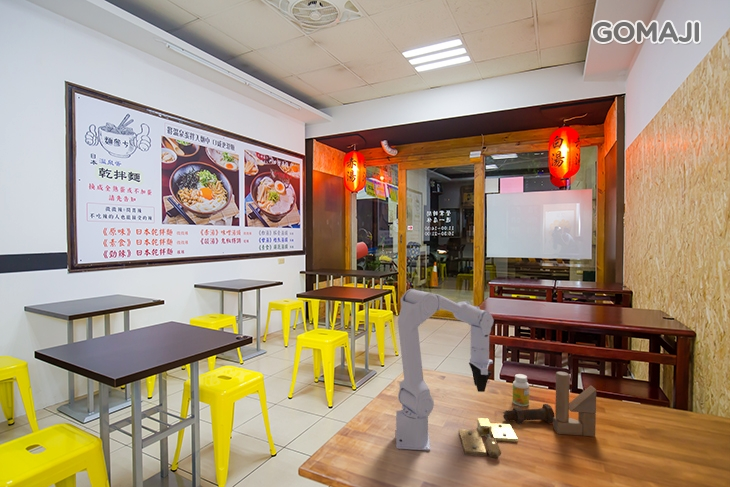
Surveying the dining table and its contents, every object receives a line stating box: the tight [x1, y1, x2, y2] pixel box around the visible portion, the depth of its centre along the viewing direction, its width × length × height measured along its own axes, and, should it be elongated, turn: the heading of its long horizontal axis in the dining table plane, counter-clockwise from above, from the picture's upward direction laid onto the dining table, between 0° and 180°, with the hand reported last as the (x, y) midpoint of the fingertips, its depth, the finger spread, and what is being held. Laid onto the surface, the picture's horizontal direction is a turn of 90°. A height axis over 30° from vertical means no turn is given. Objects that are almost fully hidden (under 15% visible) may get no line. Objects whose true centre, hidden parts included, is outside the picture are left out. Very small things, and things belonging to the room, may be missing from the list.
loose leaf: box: [476, 417, 519, 443], centre depth 110 cm, size 10×8×3 cm
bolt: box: [502, 403, 555, 425], centre depth 117 cm, size 6×5×15 cm
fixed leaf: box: [458, 428, 502, 459], centre depth 104 cm, size 9×12×3 cm
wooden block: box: [552, 371, 597, 438], centre depth 110 cm, size 4×11×18 cm, turn 82°
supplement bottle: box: [512, 373, 530, 407], centre depth 129 cm, size 5×5×10 cm
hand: (479, 388), depth 118 cm, fingers open, 4 cm apart
